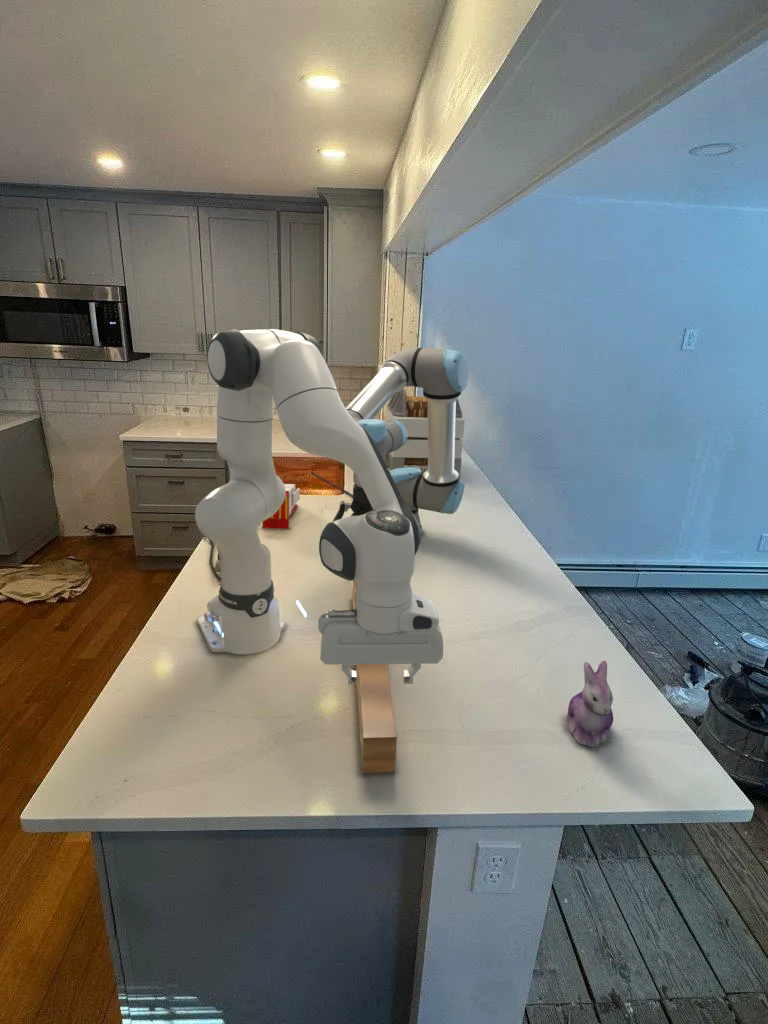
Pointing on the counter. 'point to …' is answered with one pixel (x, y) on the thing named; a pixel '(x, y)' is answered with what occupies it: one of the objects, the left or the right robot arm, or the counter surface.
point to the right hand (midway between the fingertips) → (365, 563)
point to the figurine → (591, 708)
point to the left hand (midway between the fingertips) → (379, 682)
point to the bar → (375, 715)
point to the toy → (284, 509)
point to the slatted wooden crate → (418, 431)
